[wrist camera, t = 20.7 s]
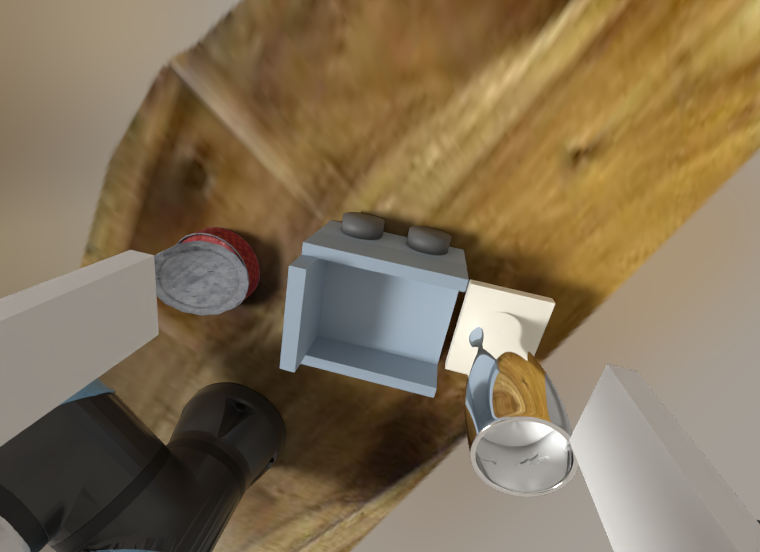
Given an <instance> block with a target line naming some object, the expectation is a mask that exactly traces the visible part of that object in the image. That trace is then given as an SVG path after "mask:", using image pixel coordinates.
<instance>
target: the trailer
mask: <svg viewBox="0 0 760 552" xmlns="http://www.w3.org/2000/svg"><path fill="white" fill-rule="evenodd" d="M384 225H385V221H384V220H383V219H381V218H379V217H377V216H374V215H370V214H366V213H358V212H348V213H344V214H343V220H342V223H341V222H336V221H332V220H331V221H330V222H328V223H327V224H326V225H325V226H323V227H322V228H321V229H319V230H318V231H317V232H316V233H314V234H313V235H312V236H310V237H309V238H308V239H307V240H305V241H304V242H303V248H302V255H301V256H300V257H298V258H297V259H296V260H295V261H294V262H293V263H291V264H290V265H289V272H288V283H287V294H286V304H285V315H284V326H283V337H282V348H281V358H280V369H283V370H287V371H290V372H294V373H295V371H296V370H297V368H298V366H299V365H300V364H304V365H307V366H311V367H315V368H319V369H323V370H327V371H331V372H335V373H339V374H343V375H347V376H350V377H354V378H358V379H362V380H366V381H370V382H374V383H378V384H382V385H386V386H390V387H393V388H397V389H401V390H405V391H409V392H413V393H417V394H421V395H425V396H429V397H433V398H434V395H435V392H436V388H437V364H438V361H439V357H440V354H441V351H442V347H443V344H444V340H445V337H446V333H447V330H448V326H449V323H450V319H451V316H452V312H453V309H454V306H455V302H456V299H457V295H458V292H459V291H461V292H465V291H466V287H467V284H468V281H469V279H468V273H467V266H466V260H465V254H464V250H463V249H458V248H454V247H449V245H450V241H451V238H452V237H451V236H450V235H449V234H448V233H446V232H443V231H441V230H438V229H434V228H430V227H424V226H412V227H410V228H409V232H408V237H404V236H400V235H395V234H391V233H386V232H383V230H384Z"/></svg>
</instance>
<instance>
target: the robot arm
mask: <svg viewBox="0 0 760 552" xmlns="http://www.w3.org/2000/svg"><path fill="white" fill-rule="evenodd" d="M157 335H159V333H158V315H157V297H156V279H155V261H154V255H150V254H146V253H142V252H137V251H133V250H129V251H126V252H123V253H121V254H118V255H115V256H113V257H110V258H107V259H105V260H102V261H99V262H97V263H94V264H91V265H89V266H86V267H83V268H81V269H78V270H75V271H73V272H70V273H67V274H65V275H62V276H60V277H57V278H54V279H51V280H49V281H46V282H43V283H41V284H38V285H35V286H33V287H30V288H27V289H25V290H22V291H20V292H17V293H14V294H11V295H9V296H6V297H3V298H1V299H0V552H39V551H40V550H41V549H42V548H43V547H44V546H45V545H46V544H48V545H49V546H50V547H52V548H53V549H54V550H55V551H56V552H212V551H213V549H214V547H215V546H216V544H217V542H218V540H219V538H220V536H221V535H222V533H223V531H224V529H225V527H226V525H227V524H228V522H229V520H230V518H231V516H232V514H233V513H234V511H235V509H236V507H237V505H238V503H239V501H240V500H241V498H242V496H243V494H244V493H245V491H246V490H247V489H248V488H249V487H250V486H251V485H252V484H254V483H255V482H256V481H257V480H258V479H259V478H260V477H261V476H262V475H263V474H264V473H265V472H266V471H267V470H268V469H269V468H270V467H271V466H272V465H273V464H274V463H275V462H276V460H277V458H278V456H279V454H280V452H281V450H282V449H283V446H284V443H285V437H286V434H285V427H284V424H283V421H282V419H281V417H280V415H279V414H278V412H277V411H276V409H275V408H274V407H273V406H272V405H271V404H270V403H269V402H268V401H267V400H266V399H265V398H264V397H262V396H261V395H260V394H258V393H256V392H255V391H253V390H251V389H249V388H246V387H243V386H240V385H237V384H231V383H216V384H212V385H208V386H206V387H204V388H202V389H201V390H199V391H198V392H197V393H196V394H195V395H194V396H193V397H192V399H191V400H190V401H189V402H188V403H187V404H186V406H185V407H184V409H183V411H182V414H181V417H180V419H179V421H178V423H177V425H176V427H175V430H174V432H173V434H172V436H171V439H170V441H169V443H168V444H167V445H166V446H165V445H164V444H163V443H162V441H161V440H160V439H159V438H158V437H157V436H156V435H155V434H154V433H153V432H152V431H151V430H150V429H149V428H148V427H147V426H146V425H145V424H144V423H143V422H142V421H141V420H140V419H139V418H138V417H137V416H136V415H135V414H134V413H133V411H132V410H131V409H130V408H129V407H128V406H127V405H126V404H125V403H124V402H123V401H122V400H121V399H120V398H119V397H118V396H117V395H116V394H115V393H116V391H115V390H114V389H111V388H109V387H107V386H106V385H105V384H104V383H103V382H102V381H101V380H100V379H98V377H99V376H101V375H102V374H104V373H105V372H106V371H108V370H109V369H111V368H112V367H113V366H115V365H116V364H118V363H119V362H121V361H122V360H123V359H125V358H126V357H128V356H129V355H130V354H132V353H133V352H135V351H136V350H137V349H139V348H140V347H142V346H143V345H145V344H146V343H147V342H149V341H150V340H152V339H153V338H154V337H156V336H157ZM569 441H570V444H571V446H572V449H573V451H574V454H575V456H576V459H577V461H578V464H579V466H580V469H581V471H582V474H583V476H584V479H585V481H586V483H587V486H588V489H589V491H590V494H591V496H592V499H593V501H594V504H595V506H596V509H597V511H598V514H599V516H600V519H601V521H602V524H603V526H604V529H605V531H606V534H607V536H608V539H609V541H610V544H611V546H612V548H613V551H614V552H760V521H759V520H756V519H755V518H754V517H753V515H752V514H751V513H750V512H749V510H748V509H747V508H746V507H745V505H744V504H743V503H742V502H741V500H740V499H739V498H738V497H737V495H736V494H735V493H734V492H733V490H732V489H731V488H730V487H729V485H728V484H727V483H726V482H725V480H724V479H723V478H722V477H721V475H720V474H719V473H718V472H717V470H716V469H715V468H714V467H713V465H712V464H711V463H710V462H709V460H708V459H707V458H706V457H705V455H704V454H703V453H702V452H701V450H700V449H699V448H698V447H697V445H696V444H695V443H694V442H693V440H692V439H691V438H690V437H689V436H688V434H687V433H686V432H685V430H684V429H683V428H682V427H681V425H680V424H679V423H678V422H677V420H676V419H675V418H674V417H673V415H672V414H671V413H670V412H669V410H668V409H667V408H666V407H665V406H664V404H663V403H662V402H661V401H660V399H659V398H658V397H657V396H656V395H655V393H654V392H653V390H652V389H651V388H650V387H649V386H648V384H647V383H646V382H645V381H644V379H643V378H642V377H641V376H640V375H639V373H638V372H637V371H635V370H631V369H627V368H623V367H619V366H614V365H610V364H607V365H606V367H605V369H604V371H603V373H602V375H601V377H600V379H599V381H598V384H597V385H596V387H595V389H594V391H593V393H592V396H591V398H590V399H589V402H588V404H587V406H586V407H585V409H584V411H583V413H582V415H581V417H580V419H579V422H578V423H577V425H576V428H575V429H574V431H573V433H572V435H571V437H570V439H569Z"/></svg>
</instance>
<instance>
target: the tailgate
mask: <svg viewBox="0 0 760 552" xmlns="http://www.w3.org/2000/svg"><path fill="white" fill-rule="evenodd" d="M554 306H555V302H554V300H553V299H552V298H549V297H544V296H540V295H536V294H531V293H527V292H523V291H519V290H514V289H510V288H506V287H501V286H497V285H493V284H488V283H484V282H480V281H475V280H471V279H470V281H469V285H468V288H467V291H466V295H465V298H464V302H463V305H462V308H461V312H460V315H459V318H458V322H457V325H456V328H455V332H454V335H453V338H452V342H451V345H450V349H449V352H448V355H447V359H446V362H445V369H448V370H452V371H456V372H460V373H464V374H467V375H468V373H469V369H470V365H471V357H470V355H469V353H468V351H467V348H466V343H465V335H466V332H467V329H468V327H469V326H470V324H471V323H472V322H473V321H474V320H475V319H476V318H478V317H480V316H482V315H484V314H487V313H491V312H503V313H507V314H510V315H513V316H514V317H516V318H518V319H519V320H520V321H521V322H522V323H523V324H524V325H525V327H526V329H527V331H528V334H529V348H530V352H531V353H532V355H533V356H534V355H535V353H536V350H537V348H538V345H539V343H540V341H541V338H542V336H543V333H544V331H545V328H546V326H547V323H548V321H549V318H550V316H551V313H552V311H553V308H554Z"/></svg>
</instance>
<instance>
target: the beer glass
mask: <svg viewBox="0 0 760 552" xmlns="http://www.w3.org/2000/svg"><path fill="white" fill-rule="evenodd" d="M465 343H466V348H467V351H468V353H469V355H470V357H471V365H470V369H469V373H468V378H467V383H466V389H465V397H464V414H465V425H466V432H467V438H468V444H469V449H470V459H471V464H472V467H473V469H474V470H475V472H476V474H477V475H478V476H479V478H480V479H481V480H482V481H484V482H485V483H486V484H487V485H489V486H490V487H492V488H494V489H495V490H497V491H500V492H502V493H505V494H508V495H512V496H519V497H536V496H542V495H547V494H550V493H553V492H555V491H557V490H559V489H561V488H562V487H564V486H565V485H566V484H567V483H569V481H570V480H571V479H572V478H573V477H574V475H575V473H576V472H577V469H578V466H579V464H578V461H577V459H576V456H575V454H574V451H573V449H572V446H571V444H570V441H569V439H570V437H571V435H572V430H571V426H570V423H569V420H568V416H567V414H566V411H565V408H564V405H563V403H562V400H561V398H560V396H559V394H558V392H557V390H556V388H555V386H554V384H553V383H552V381H551V379H550V378H549V376H548V375H547V373H546V372H545V371H544V369H543V368H542V367H541V365H540V364H539V363H538V361H537V360H536V359H535V358H534V356H533V355H532V353H531V352H530V348H529V334H528V331H527V329H526V327H525V325H524V324H523V323H522V322H521V321H520V320H519V319H518V318H516V317H514V316H513V315H510V314H507V313H503V312H491V313H487V314H484V315H482V316H480V317H478V318H476V319H475V320H474V321H473V322H472V323H471V324H470V326H469V327H468V329H467V332H466V335H465Z"/></svg>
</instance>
